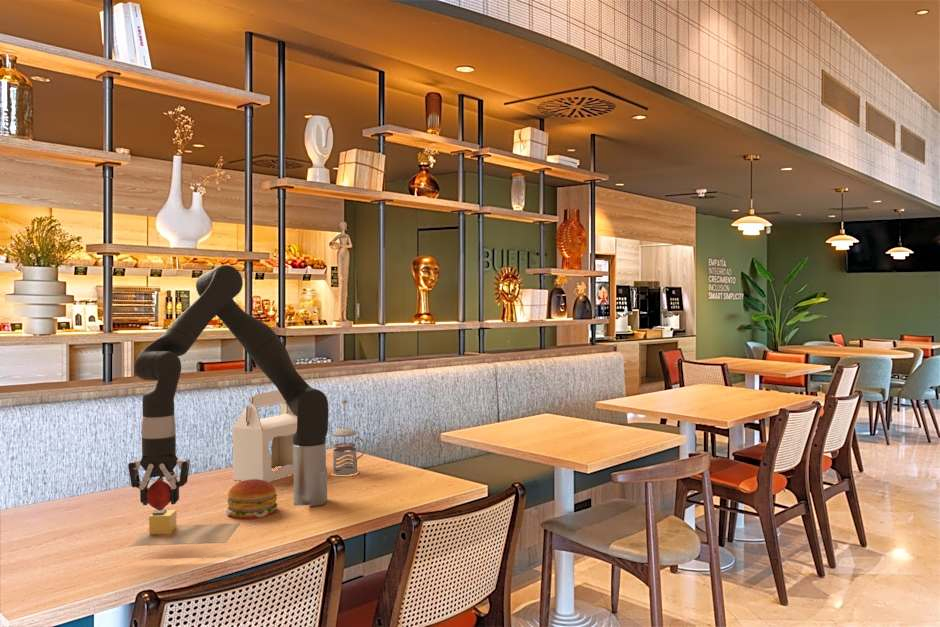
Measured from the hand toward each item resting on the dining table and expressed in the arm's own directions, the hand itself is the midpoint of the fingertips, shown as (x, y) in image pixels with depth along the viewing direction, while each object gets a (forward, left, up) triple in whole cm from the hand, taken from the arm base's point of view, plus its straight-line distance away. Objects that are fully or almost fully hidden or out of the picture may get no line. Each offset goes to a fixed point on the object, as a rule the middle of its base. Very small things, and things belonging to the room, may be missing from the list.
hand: (159, 503), depth 178 cm
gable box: (-14, -69, -10) cm, 72 cm away
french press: (-39, -69, -10) cm, 80 cm away
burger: (-17, -22, -10) cm, 30 cm away
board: (-5, -3, -10) cm, 12 cm away
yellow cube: (+2, -7, -9) cm, 12 cm away
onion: (0, 0, -2) cm, 2 cm away
